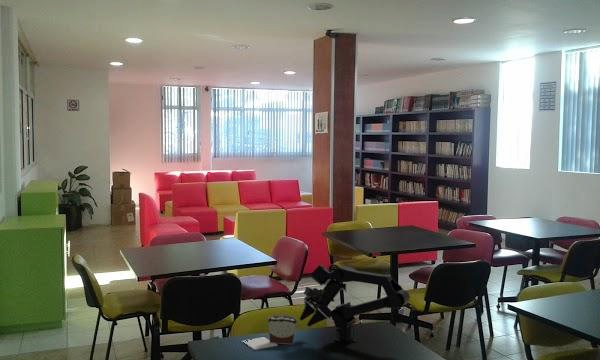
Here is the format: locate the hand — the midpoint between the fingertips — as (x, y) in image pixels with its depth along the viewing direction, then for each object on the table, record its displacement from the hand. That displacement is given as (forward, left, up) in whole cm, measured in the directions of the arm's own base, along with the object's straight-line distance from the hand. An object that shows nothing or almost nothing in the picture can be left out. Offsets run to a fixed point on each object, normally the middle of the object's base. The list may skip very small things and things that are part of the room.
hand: (304, 322), depth 213 cm
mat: (+16, -8, -8) cm, 19 cm away
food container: (+7, -5, -8) cm, 12 cm away
